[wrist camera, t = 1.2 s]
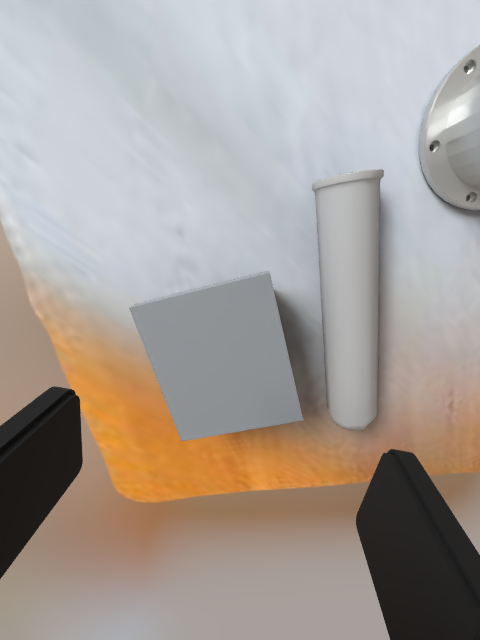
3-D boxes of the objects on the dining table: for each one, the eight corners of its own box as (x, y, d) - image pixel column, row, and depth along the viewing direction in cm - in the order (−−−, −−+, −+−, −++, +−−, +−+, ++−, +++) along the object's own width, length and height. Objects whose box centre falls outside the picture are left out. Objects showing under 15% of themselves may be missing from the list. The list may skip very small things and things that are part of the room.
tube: (389, 432, 29) (397, 166, 21) (344, 447, 28) (335, 173, 20) (356, 404, 34) (353, 179, 26) (317, 416, 33) (301, 186, 25)
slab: (269, 270, 23) (269, 272, 22) (301, 412, 27) (303, 420, 26) (135, 304, 25) (129, 307, 23) (184, 432, 29) (181, 441, 28)
